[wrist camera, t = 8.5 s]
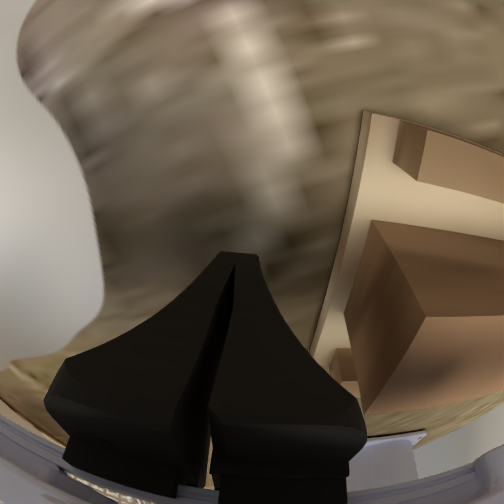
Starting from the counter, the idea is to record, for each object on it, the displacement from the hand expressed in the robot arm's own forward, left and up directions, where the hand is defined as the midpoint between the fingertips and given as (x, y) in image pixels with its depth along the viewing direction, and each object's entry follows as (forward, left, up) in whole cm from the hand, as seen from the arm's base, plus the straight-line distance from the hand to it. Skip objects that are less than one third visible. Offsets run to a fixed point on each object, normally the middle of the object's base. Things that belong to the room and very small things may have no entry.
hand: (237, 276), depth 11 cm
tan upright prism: (0, -9, -1) cm, 9 cm away
